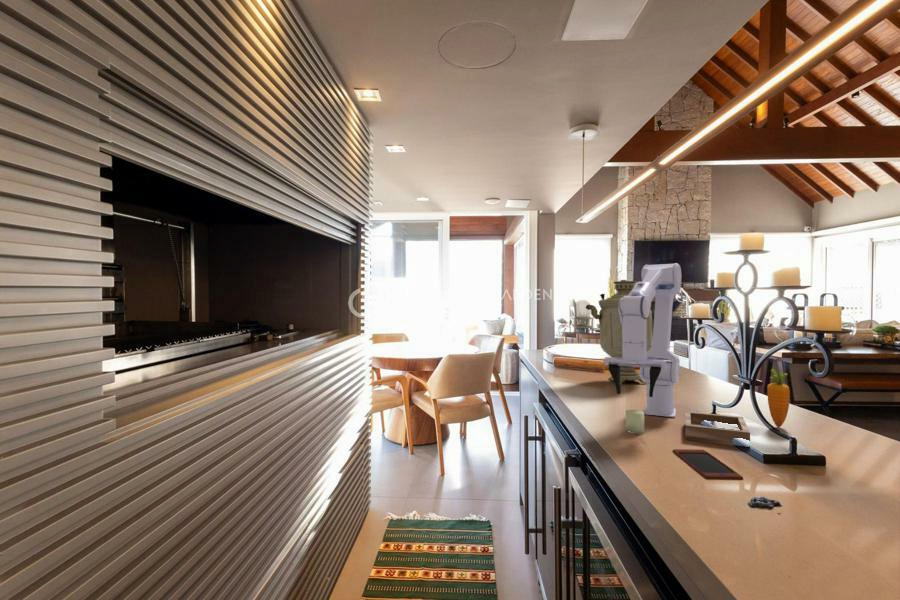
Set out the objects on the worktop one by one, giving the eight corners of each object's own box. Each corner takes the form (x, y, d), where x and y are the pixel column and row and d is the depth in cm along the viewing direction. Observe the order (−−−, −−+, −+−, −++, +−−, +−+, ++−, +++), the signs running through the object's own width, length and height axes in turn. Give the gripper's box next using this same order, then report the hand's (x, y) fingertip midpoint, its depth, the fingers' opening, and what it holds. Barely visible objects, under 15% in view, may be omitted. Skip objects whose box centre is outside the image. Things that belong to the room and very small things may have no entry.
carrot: (794, 430, 112) (794, 372, 112) (772, 429, 113) (772, 371, 113) (784, 424, 117) (783, 368, 116) (763, 424, 118) (762, 368, 117)
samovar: (582, 387, 166) (581, 281, 165) (588, 374, 190) (588, 282, 190) (670, 393, 155) (669, 279, 154) (665, 379, 179) (664, 280, 178)
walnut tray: (685, 424, 119) (685, 411, 119) (742, 430, 113) (742, 416, 112) (685, 439, 106) (685, 425, 106) (750, 447, 100) (750, 432, 100)
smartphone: (705, 476, 84) (671, 448, 99) (705, 481, 84) (671, 452, 99) (744, 476, 84) (704, 448, 99) (744, 481, 84) (704, 453, 99)
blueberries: (803, 518, 71) (804, 506, 71) (763, 520, 69) (763, 508, 69) (765, 499, 78) (766, 489, 78) (727, 501, 76) (728, 490, 76)
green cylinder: (626, 427, 116) (626, 409, 116) (644, 429, 114) (644, 410, 114) (624, 432, 113) (624, 413, 112) (643, 434, 110) (643, 415, 110)
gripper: (602, 342, 113) (602, 395, 113) (665, 345, 106) (665, 401, 106) (606, 339, 119) (607, 389, 119) (666, 342, 112) (666, 394, 113)
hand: (634, 394), depth 113 cm, fingers open, 7 cm apart
